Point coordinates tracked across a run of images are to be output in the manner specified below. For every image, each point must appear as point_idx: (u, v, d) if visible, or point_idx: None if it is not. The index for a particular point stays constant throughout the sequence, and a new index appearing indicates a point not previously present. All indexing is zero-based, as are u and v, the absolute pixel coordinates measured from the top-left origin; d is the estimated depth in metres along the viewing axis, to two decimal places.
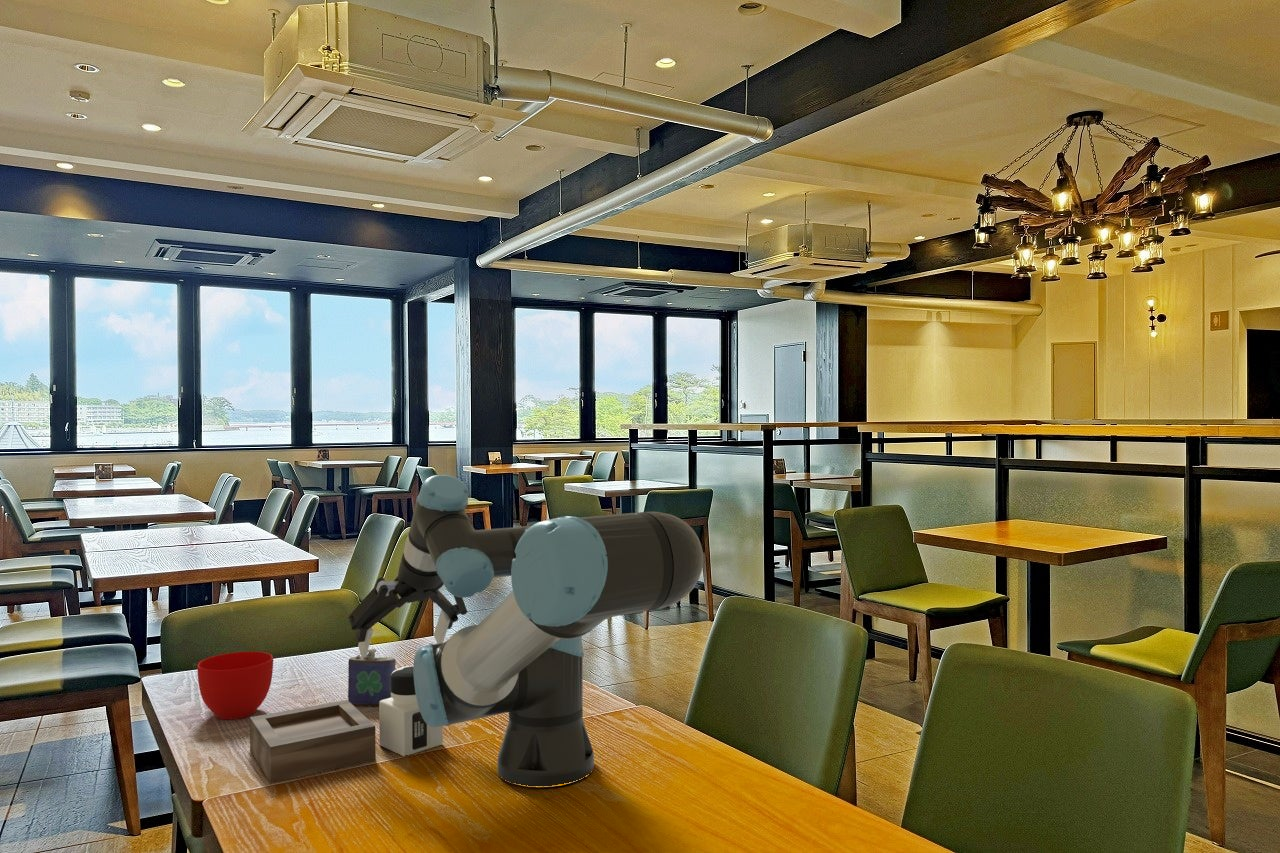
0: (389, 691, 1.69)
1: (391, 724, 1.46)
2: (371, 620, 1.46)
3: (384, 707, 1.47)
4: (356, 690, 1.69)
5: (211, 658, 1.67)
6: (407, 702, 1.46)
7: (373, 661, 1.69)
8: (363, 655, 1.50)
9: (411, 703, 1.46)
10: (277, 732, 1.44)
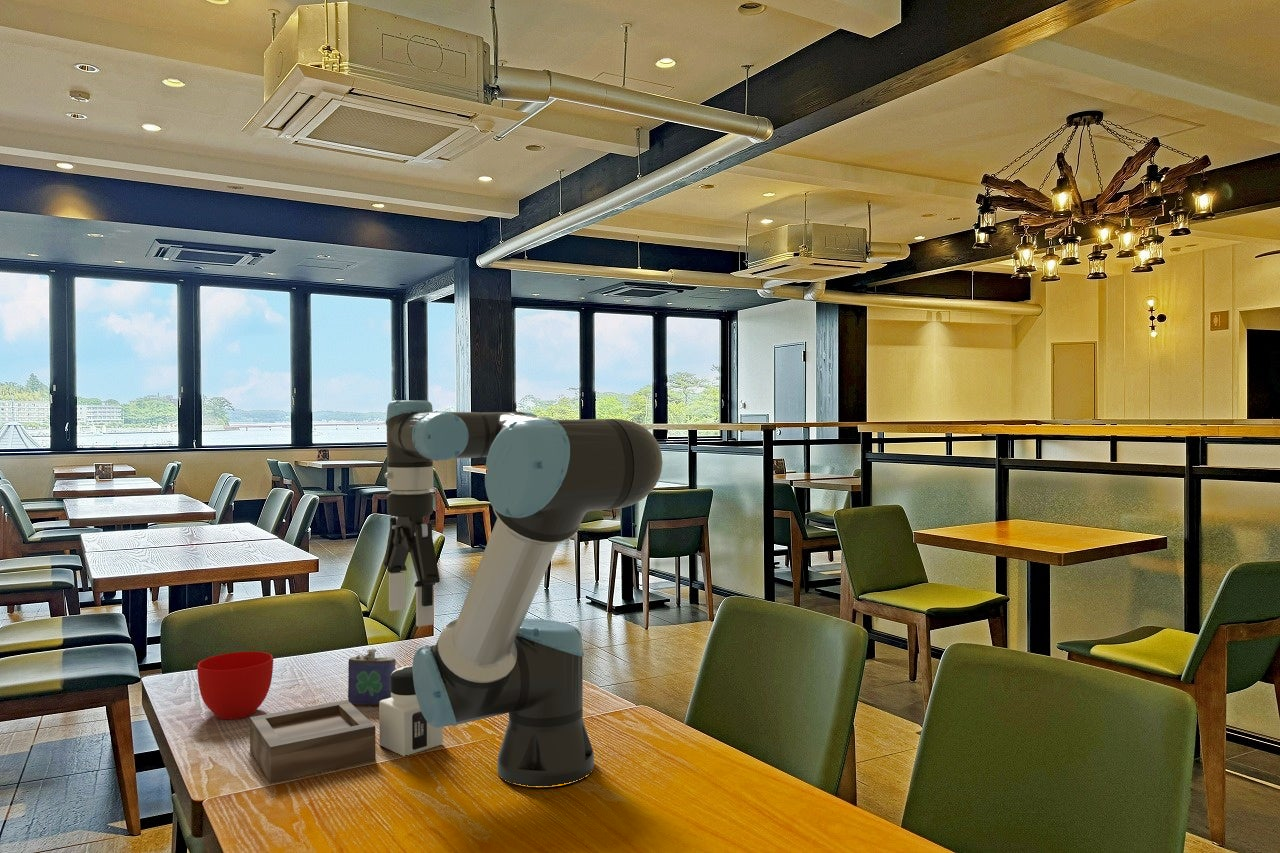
0: (389, 691, 1.69)
1: (391, 724, 1.46)
2: None
3: (384, 707, 1.47)
4: (356, 690, 1.69)
5: (211, 658, 1.67)
6: (407, 702, 1.46)
7: (373, 661, 1.69)
8: None
9: (411, 703, 1.46)
10: (277, 732, 1.44)
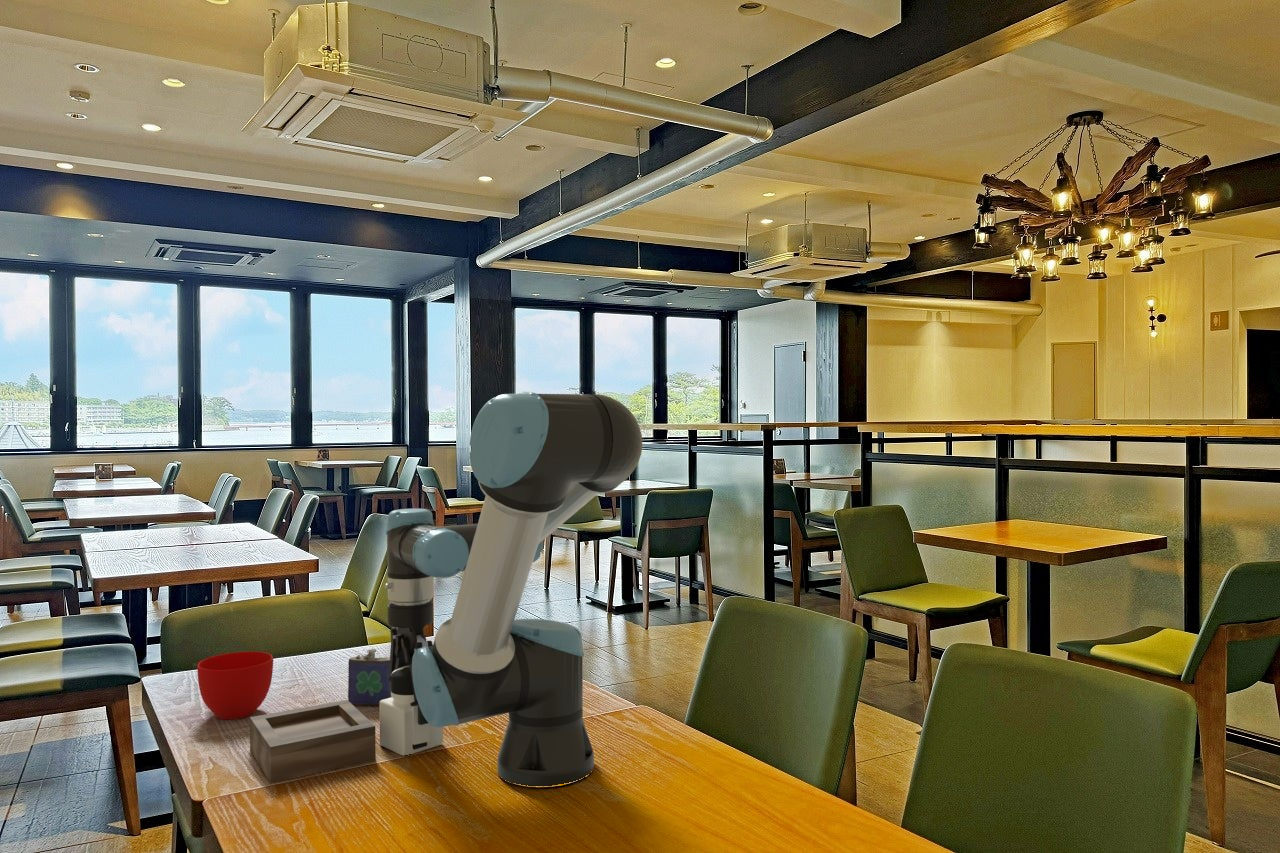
0: (389, 691, 1.69)
1: (392, 724, 1.46)
2: None
3: (384, 707, 1.47)
4: (356, 690, 1.69)
5: (211, 658, 1.67)
6: (407, 702, 1.46)
7: (373, 661, 1.69)
8: None
9: None
10: (277, 732, 1.44)
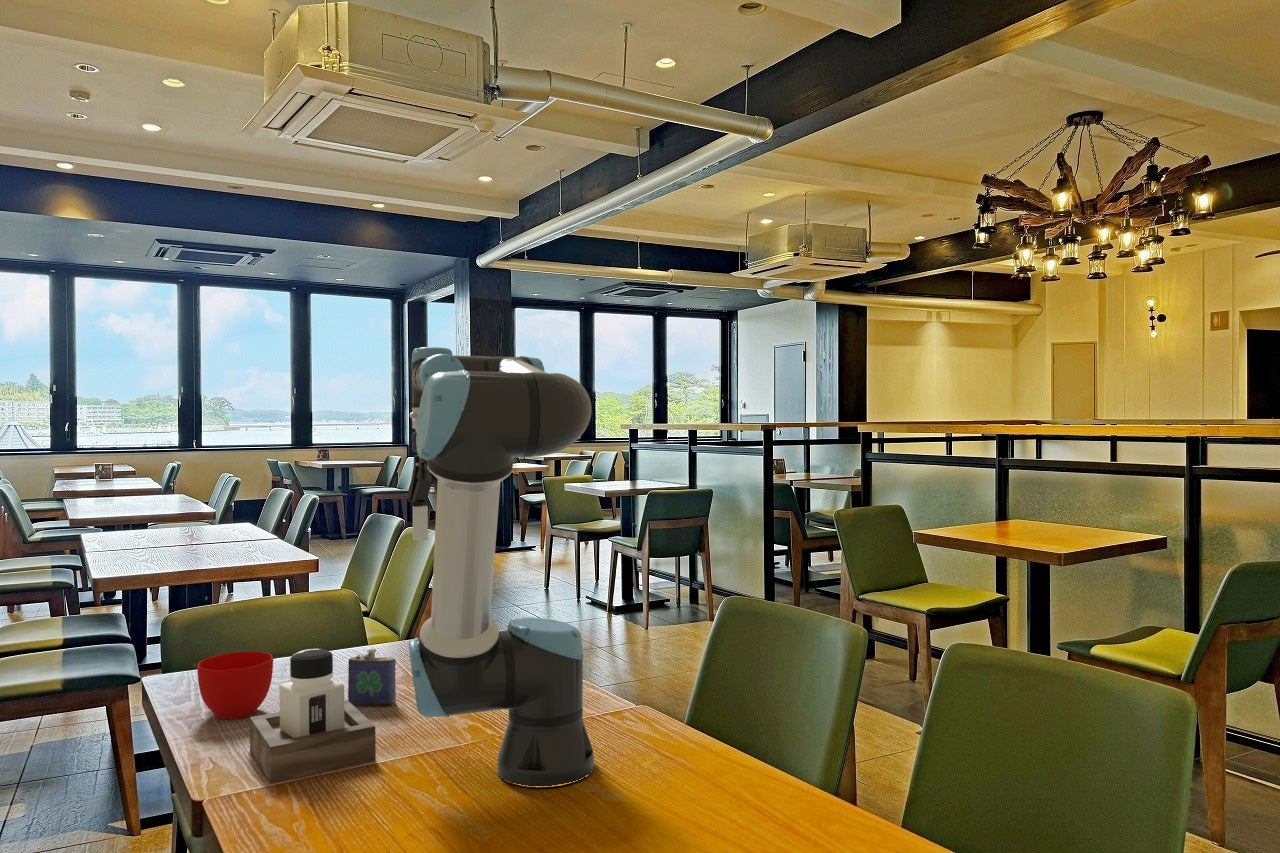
0: (389, 691, 1.69)
1: (289, 708, 1.42)
2: None
3: (283, 691, 1.43)
4: (356, 690, 1.69)
5: (211, 658, 1.67)
6: (305, 686, 1.42)
7: (373, 661, 1.69)
8: None
9: (309, 687, 1.42)
10: (277, 732, 1.44)
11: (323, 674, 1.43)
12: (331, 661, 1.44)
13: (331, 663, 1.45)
